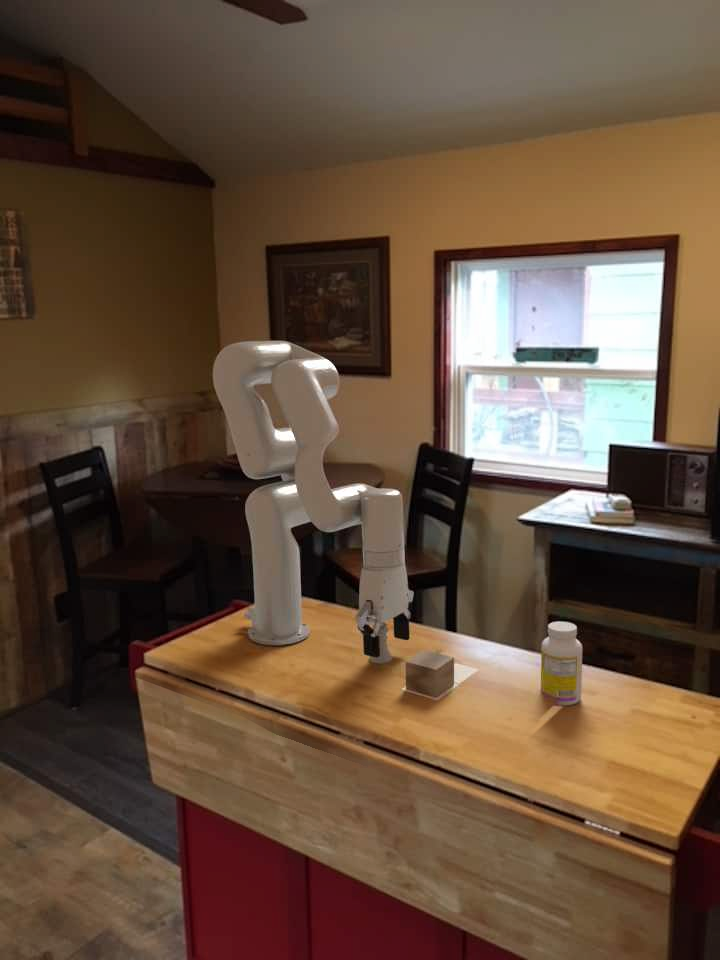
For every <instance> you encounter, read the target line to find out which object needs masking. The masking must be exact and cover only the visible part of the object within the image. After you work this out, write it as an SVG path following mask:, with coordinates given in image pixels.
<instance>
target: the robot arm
mask: <svg viewBox="0 0 720 960" xmlns="http://www.w3.org/2000/svg"><path fill="white" fill-rule="evenodd" d="M212 381H213V387H214V389H215V393H216V396H217V398H218V400H219V403H220V404H221V407H222V409H223V411H224V413H225V416H226V419H227V423H228V427H229V431H230V435H231V437H232V441H233V445H234V449H235V451H236V455H237V460H238V462H239V465H240V468H241V470H242V472H243V473H244V475H245V476H247V478H249V479H252V480H261V479H262V480H263V479H267V478H268V479H269V478H272V477H278V476H281V479H282V480H281V481H277V482H273V483H269V484H268V483H267V484H266V485H265V484H264V485H261V486H259V487H257V488H255V489H254V490H253V491H252V492H251V493H249V495H248V497H247V499H246V500H245V506H244V507H245V508H244V509H245V510H244V512H245V518H246V522H247V525H248V531H249V534H250V535H249V536H250V541H251V554H252V555H251V556H252V569H253V573H252V574H253V592H254V594H253V596H254V606H249V607H248V608H247V611H245V613H244V614H243V618H244V620H249V621H251V627H250V628H249V629H248V632H247V633H248V638H249V639H250V640H251V641H252V642H254V643H256V644H259V643H260V645H264V646H286V644H287V645H290V644H291V645H292V644H296V643H299V642H301V641H302V640H304V639H306V638H307V637H308V636H309V635H310V633H311V632H310V631H311V630H310V629H311V628H310V626H309V624H308V623H307V622H305V621H303V618H302V617H303V614H302V584H301V583H302V582H301V556H300V555H301V554H300V548H299V544H298V542H297V540H296V538H295V536H294V535H293V533H292V528H294V527H297V526H301V525H303V524H308V523H310V522H311V523H312V524H313V525H314V526H315V527H316V528H317V529H318V530H320V531H321V532H325V533H334V532H337V531H340V530H344V529H346V528H351V527H353V526H357V525H361V535H362V536H361V538H362V559H363V560H362V562H363V567H361V571H360V578H359V588H358V589H359V594H358V613H357V614H356V615H355V617H354V622H355V623H356V626H357V630H359V632H360V635H362V641H363V654H364V655H365V656H368V657H370V656H372V657H376V658H378V657H379V656H380V643H379V636H377V633H378V630H379V627H380V624H381V625H382V624H383V623H386V622H388V621H390V620H392V619H393V637H394V638H395V639H400V640H403V641H409V640H410V638H411V637H410V636H411V635H410V619H411V616H412V615H411V614H412V613H411V610H412V607H413V603H412V602H413V599H414V595H415V594H414V591H413V590H410V589H409V582H408V575H407V569H406V562H405V557H406V555H405V532H404V531H405V529H404V526H405V525H404V506H403V505H404V501H403V500H404V499H403V495H402V493H401V492H400V491H399V490H397V489H394V488H383V487H382V488H377V487H374V486H371V485H368V484H365V483H352V484H347V485H343V486H339V487H335V488H331V486H330V484H329V481H328V480H327V477H326V474H325V469H324V463H323V460H324V453H325V452H326V448H327V447H328V445H329V444H330V443H332V442H333V441H334V439H335V438H336V437H337V436H338V434H339V433H340V427H339V424H338V422H337V420H336V418H335V415H334V413H333V411H332V408H331V407H330V404H329V402H328V400H330V399H332V398H334V397H335V396H336V395H337V393H338V391H339V388H340V382H341V380H340V375H339V372H338V370H337V368H336V367H335V365H334V364H333V363H332V362H331V361H330V360H328V359H327V358H325V357H324V356H321V355H320V354H317V353H315V352H313V351H310V350H308V349H307V348H304V347H302V346H299V345H297V344H294V343H292V342H289V341H287V340H286V341H285V340H253V341H252V340H251V341H250V340H248V341H240V342H235V343H231V344H230V345H227V346H225V347H223V349H222V350H220V352H219V353H218V354H217V355H216V357H215V360H214V363H213V369H212ZM265 384H271V386H272V387H271V388H272V391H273V392H274V395H275V397H276V399H277V402H278V404H279V406H280V408H281V410H282V412H283V415H284V417H285V420H286V422H287V424H288V427H280V428H276V427H275V426H274V424H273V421H272V418H271V414H270V410H269V407H268V405H267V404H266V402H265V401H264V399H263V398H262V396H261V395H260V394H259V393H258V392H257V391H256V390H255V389H254V386H256V385H265ZM373 617H374V618H373ZM371 624H373V625H374V626H373V625H372V627H371V626H370V625H371Z"/></svg>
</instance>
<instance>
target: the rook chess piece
mask: <svg viewBox="0 0 720 960" xmlns="http://www.w3.org/2000/svg"><path fill="white" fill-rule="evenodd" d="M387 625H388V624H387V623H386V622H384V623H381V624H380V627H379V630H378V633H377V636H379V643H380V656H379V657H378V658H376V657H372V656H368V657H369V661H370V662H371V663H373V664H380V665H381V664H382V665H383V664H388V663H390V662H391V661H392V660H393V657H392V654H391V652H390V651H389V649H388V641H387V640H388V636H387V633H388V632H389V631H390V630H389V627H388V626H387ZM373 626H374V624H373V625H372V627H373Z"/></svg>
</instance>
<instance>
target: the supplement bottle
mask: <svg viewBox="0 0 720 960" xmlns="http://www.w3.org/2000/svg"><path fill="white" fill-rule="evenodd" d="M547 633H548V636H547V637H545V638H544V639H543V640H542V643H541V653H540V654H541V658H540V660H541V663H540V665H541V666H540V667H541V669H540V692H541V693H542V695H544V696H546V697H548V698H549V699H553V700H557V701H556V702H555V703H554V705H556V706H561V707H563V706H564V707H565V706H573V705H575V704H577V703H579V702H580V700H581V698H582V683H583V682H582V679H583V677H582V676H583V675H582V673H583V669H582V668H583V644H582V643H581V641H580V640H578V639H577V635H578V627H577V625H576V624H575V623H573V622H569V621H552V622H550V623H549V624H548V625H547Z"/></svg>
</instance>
